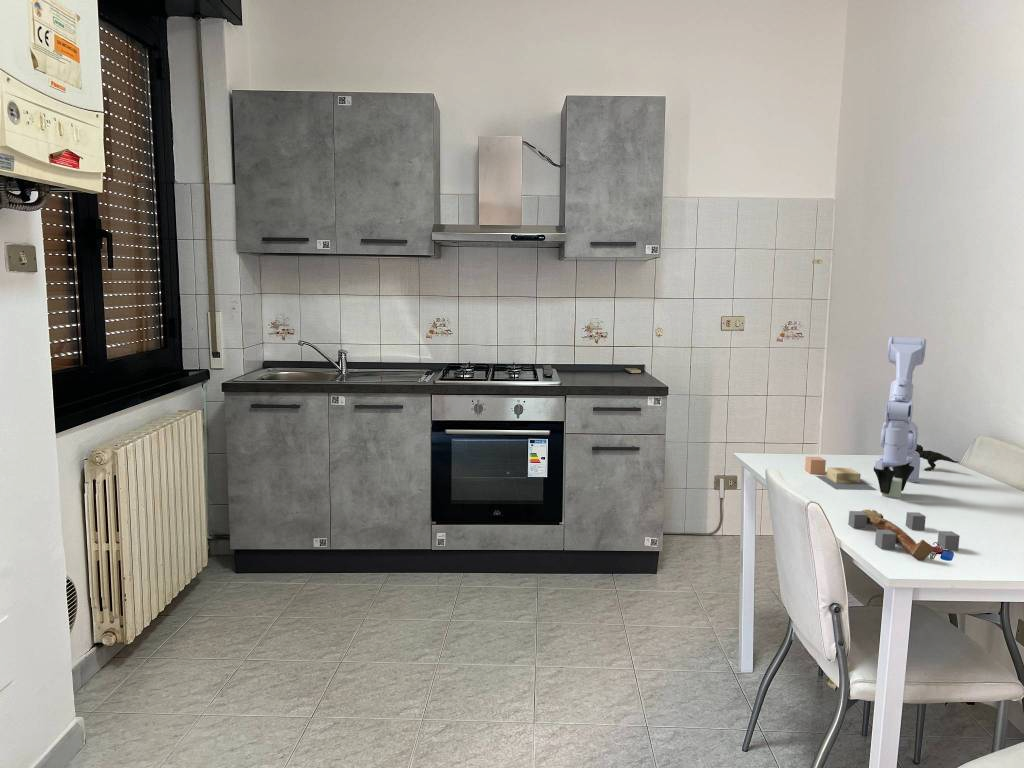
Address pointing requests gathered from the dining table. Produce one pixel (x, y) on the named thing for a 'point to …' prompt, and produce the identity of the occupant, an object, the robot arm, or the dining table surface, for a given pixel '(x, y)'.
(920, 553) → the figurine
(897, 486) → the sage cube
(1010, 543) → the dining table surface
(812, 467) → the terracotta cube
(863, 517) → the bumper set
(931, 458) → the toy
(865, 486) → the mat
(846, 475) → the oak slab
